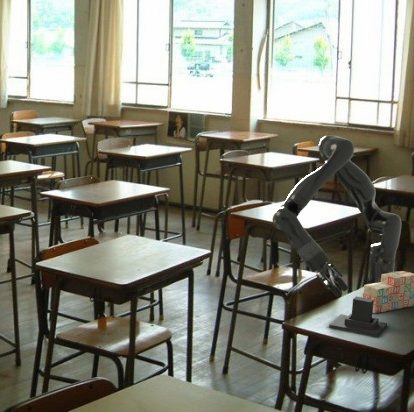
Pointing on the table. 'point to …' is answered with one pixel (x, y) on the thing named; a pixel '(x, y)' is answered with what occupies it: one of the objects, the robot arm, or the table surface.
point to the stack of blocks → (391, 291)
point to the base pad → (358, 325)
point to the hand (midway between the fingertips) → (343, 292)
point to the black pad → (362, 309)
